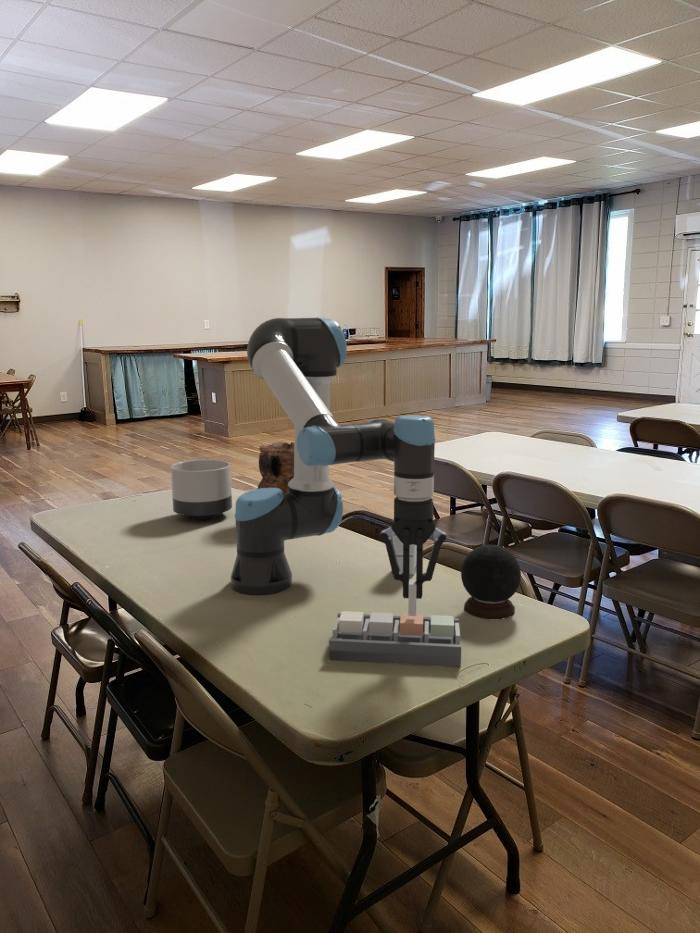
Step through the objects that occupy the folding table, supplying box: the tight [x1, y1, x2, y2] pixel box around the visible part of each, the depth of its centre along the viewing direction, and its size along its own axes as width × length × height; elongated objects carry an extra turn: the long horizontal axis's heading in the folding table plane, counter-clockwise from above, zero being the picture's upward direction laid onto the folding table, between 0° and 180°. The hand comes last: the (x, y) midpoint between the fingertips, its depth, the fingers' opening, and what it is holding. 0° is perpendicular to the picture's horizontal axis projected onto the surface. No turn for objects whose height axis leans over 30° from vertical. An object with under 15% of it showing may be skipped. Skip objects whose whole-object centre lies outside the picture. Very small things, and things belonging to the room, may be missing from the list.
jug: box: [256, 441, 294, 493], centre depth 230 cm, size 22×21×25 cm
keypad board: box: [328, 612, 462, 667], centre depth 139 cm, size 25×13×4 cm, turn 83°
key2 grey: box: [369, 612, 394, 634], centre depth 139 cm, size 4×4×2 cm
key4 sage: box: [430, 614, 454, 637], centre depth 138 cm, size 4×4×2 cm
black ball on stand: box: [460, 544, 522, 620], centre depth 157 cm, size 13×13×15 cm
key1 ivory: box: [339, 610, 365, 633], centre depth 140 cm, size 4×4×2 cm
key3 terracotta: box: [400, 613, 424, 636], centre depth 139 cm, size 4×4×2 cm
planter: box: [170, 459, 233, 521], centre depth 233 cm, size 19×19×18 cm
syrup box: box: [392, 518, 417, 576], centre depth 181 cm, size 6×6×14 cm
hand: (412, 613), depth 138 cm, fingers closed
